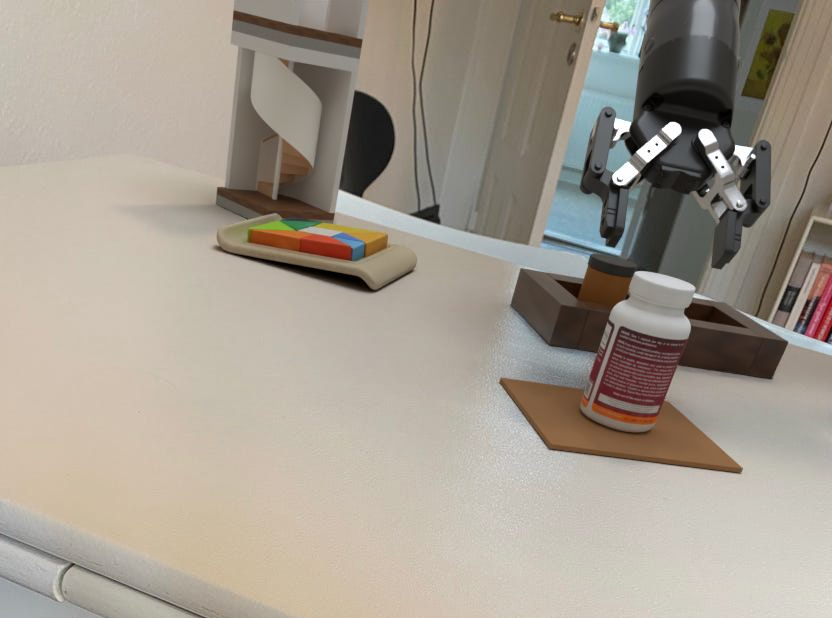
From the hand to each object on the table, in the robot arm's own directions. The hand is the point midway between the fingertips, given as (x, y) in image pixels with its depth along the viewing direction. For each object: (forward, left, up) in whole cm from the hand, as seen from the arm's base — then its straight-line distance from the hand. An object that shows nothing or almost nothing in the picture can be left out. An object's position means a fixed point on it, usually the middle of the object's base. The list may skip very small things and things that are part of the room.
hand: (667, 252), depth 69 cm
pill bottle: (+1, +3, -13) cm, 13 cm away
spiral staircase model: (+25, -59, -13) cm, 65 cm away
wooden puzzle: (+21, -39, -13) cm, 46 cm away
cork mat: (+1, +3, -13) cm, 13 cm away
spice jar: (-8, -25, -13) cm, 29 cm away
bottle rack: (-13, -25, -13) cm, 31 cm away
